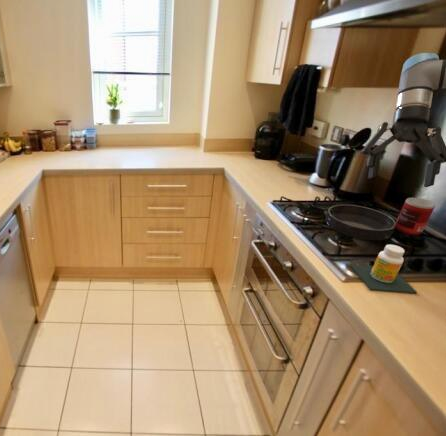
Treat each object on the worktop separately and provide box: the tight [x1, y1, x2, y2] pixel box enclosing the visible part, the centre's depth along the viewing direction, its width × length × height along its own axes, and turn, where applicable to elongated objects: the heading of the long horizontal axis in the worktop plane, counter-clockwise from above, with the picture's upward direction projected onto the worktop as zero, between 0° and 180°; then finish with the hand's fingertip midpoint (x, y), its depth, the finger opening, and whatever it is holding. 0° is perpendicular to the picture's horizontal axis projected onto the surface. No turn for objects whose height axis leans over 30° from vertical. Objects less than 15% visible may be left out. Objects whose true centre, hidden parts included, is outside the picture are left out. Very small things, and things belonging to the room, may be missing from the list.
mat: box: [350, 264, 417, 295], centre depth 89 cm, size 11×11×1 cm
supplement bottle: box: [371, 244, 405, 283], centre depth 86 cm, size 5×5×10 cm
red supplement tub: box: [395, 197, 436, 236], centre depth 110 cm, size 8×8×11 cm
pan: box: [324, 204, 396, 242], centre depth 115 cm, size 20×20×4 cm
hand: (399, 182), depth 89 cm, fingers open, 13 cm apart
